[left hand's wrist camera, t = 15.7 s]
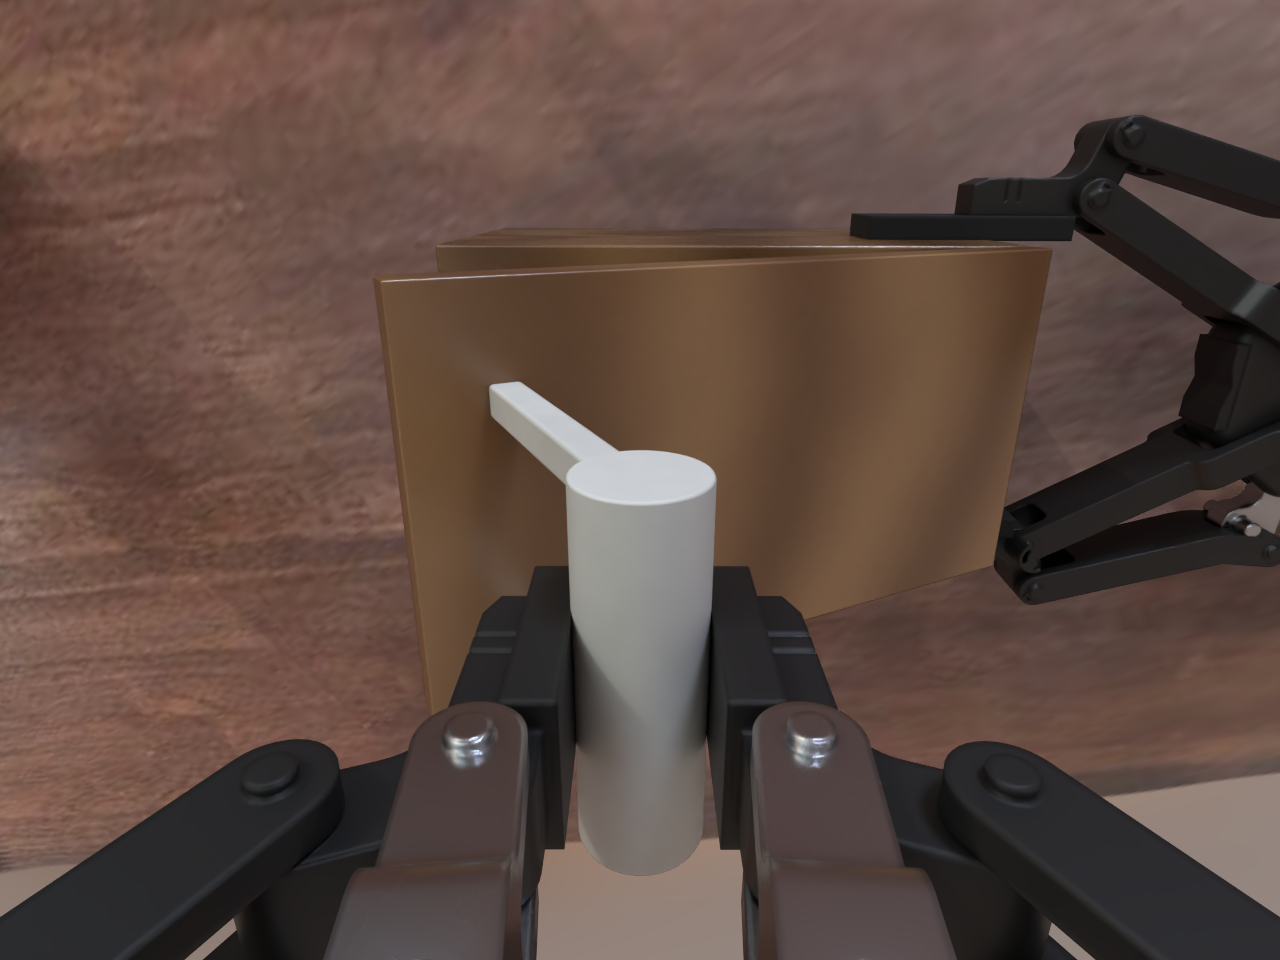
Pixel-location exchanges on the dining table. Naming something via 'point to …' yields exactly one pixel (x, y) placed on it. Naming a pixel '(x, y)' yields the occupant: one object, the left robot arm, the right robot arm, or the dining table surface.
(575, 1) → the dining table surface
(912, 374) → the lid
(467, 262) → the chest
